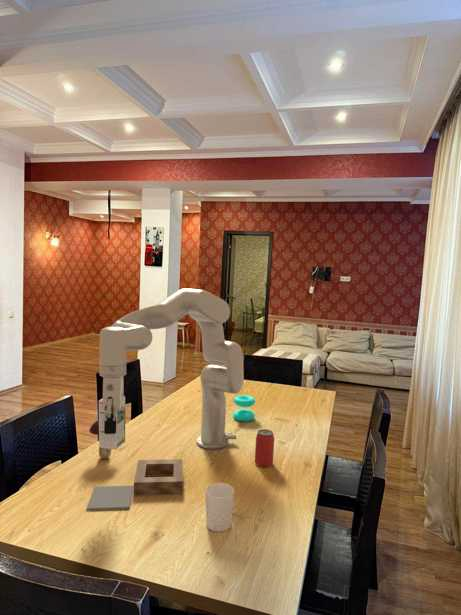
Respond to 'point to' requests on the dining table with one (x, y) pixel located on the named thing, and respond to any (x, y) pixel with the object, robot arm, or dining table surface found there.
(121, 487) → the slate mat
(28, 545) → the dining table surface
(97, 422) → the decorative mushroom
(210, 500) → the white cup
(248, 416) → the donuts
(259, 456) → the beer can
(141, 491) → the walnut pocket holder
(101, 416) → the syrup box
